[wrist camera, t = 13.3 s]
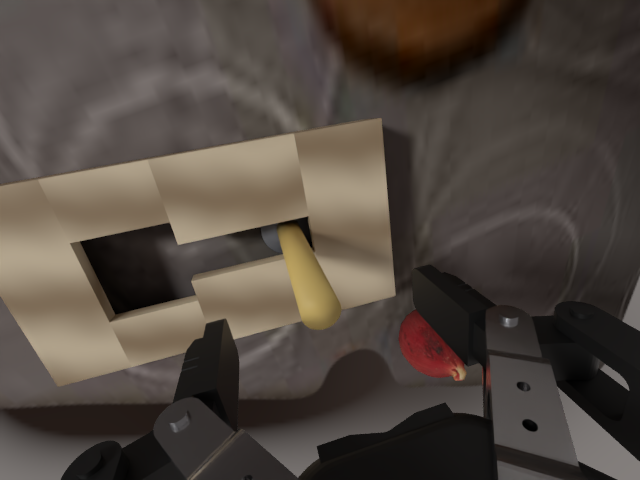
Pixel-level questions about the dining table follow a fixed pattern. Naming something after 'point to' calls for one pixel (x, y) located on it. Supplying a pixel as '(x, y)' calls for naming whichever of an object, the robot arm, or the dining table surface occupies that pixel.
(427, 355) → the onion
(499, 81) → the dining table surface
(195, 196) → the keyhole board
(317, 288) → the headed peg
